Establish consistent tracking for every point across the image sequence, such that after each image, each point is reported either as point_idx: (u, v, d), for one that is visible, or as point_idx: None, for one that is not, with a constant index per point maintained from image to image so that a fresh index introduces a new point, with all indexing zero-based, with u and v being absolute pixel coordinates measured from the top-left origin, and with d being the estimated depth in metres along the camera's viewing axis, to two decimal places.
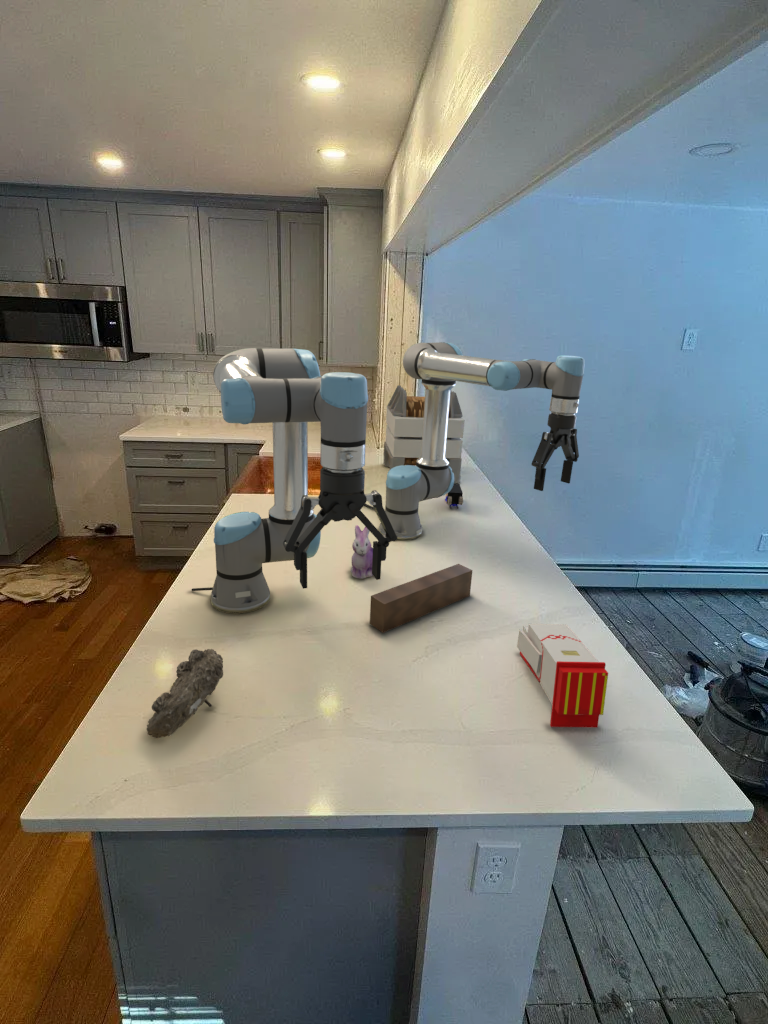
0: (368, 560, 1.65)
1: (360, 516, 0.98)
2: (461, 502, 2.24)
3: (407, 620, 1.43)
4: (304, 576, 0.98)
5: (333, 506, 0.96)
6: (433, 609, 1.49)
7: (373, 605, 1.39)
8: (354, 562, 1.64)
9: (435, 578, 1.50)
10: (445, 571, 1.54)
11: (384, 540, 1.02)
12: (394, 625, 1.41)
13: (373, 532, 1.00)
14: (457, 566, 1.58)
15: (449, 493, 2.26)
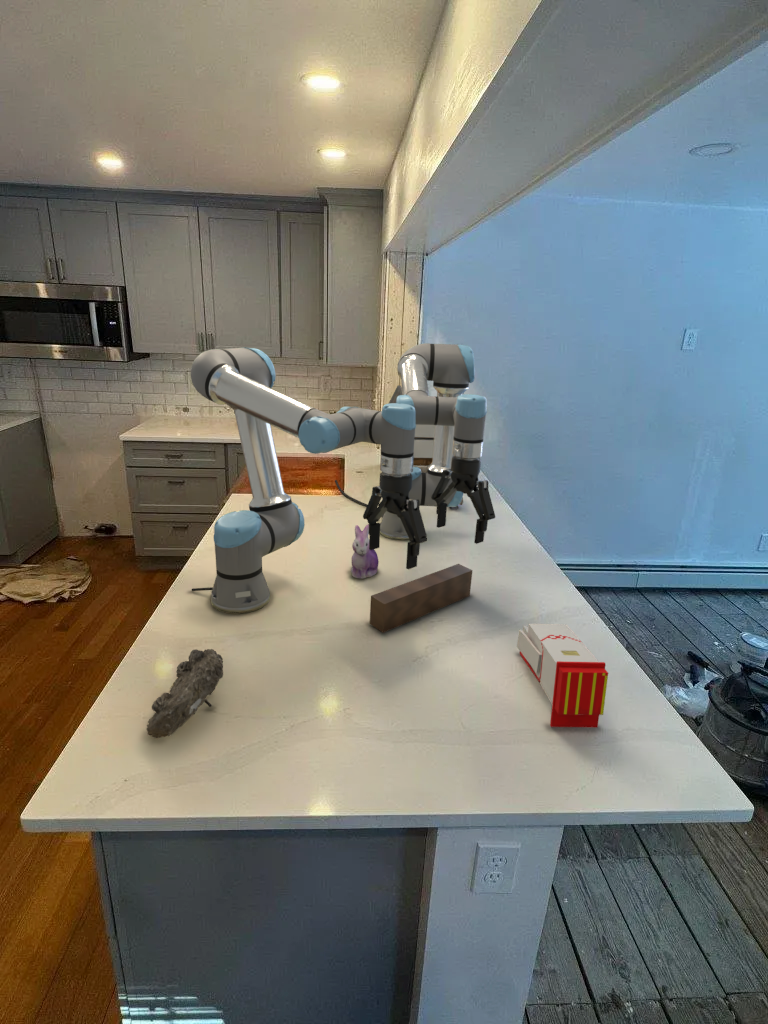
0: (368, 560, 1.65)
1: (397, 512, 1.29)
2: (461, 502, 2.24)
3: (407, 620, 1.43)
4: (370, 540, 1.40)
5: (384, 497, 1.32)
6: (433, 609, 1.49)
7: (373, 605, 1.39)
8: (354, 562, 1.64)
9: (435, 578, 1.50)
10: (445, 571, 1.54)
11: (412, 539, 1.28)
12: (394, 625, 1.41)
13: (406, 529, 1.29)
14: (457, 566, 1.58)
15: None
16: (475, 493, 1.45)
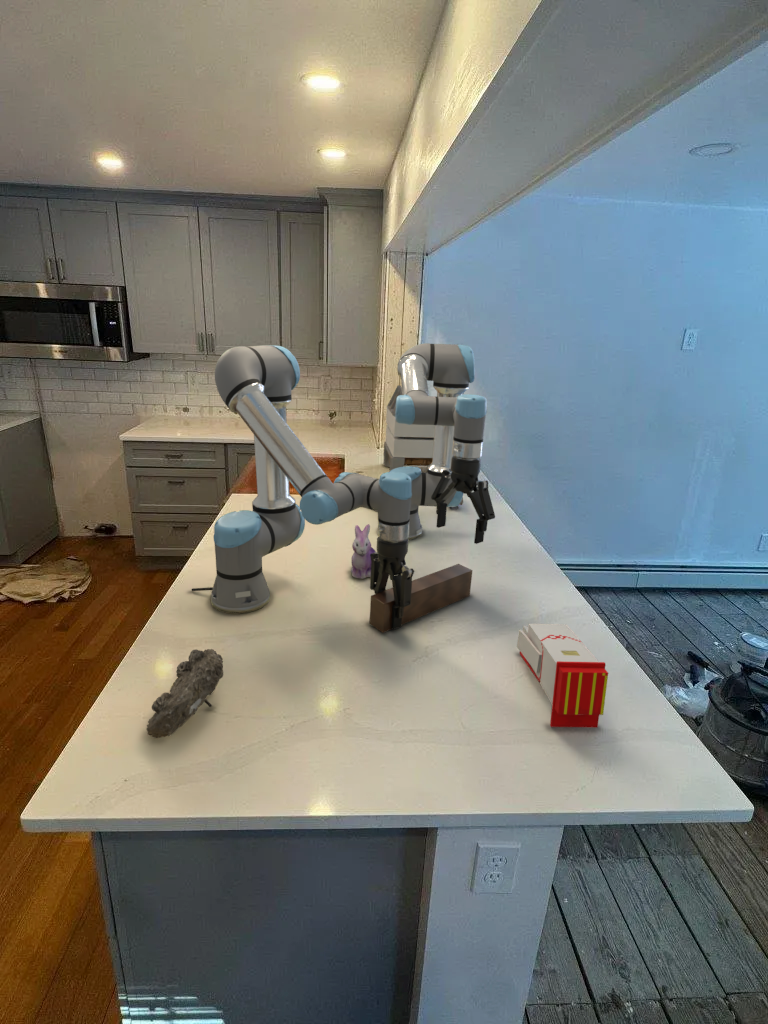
0: (368, 560, 1.65)
1: (390, 575, 1.36)
2: (461, 502, 2.24)
3: (407, 620, 1.43)
4: None
5: (381, 560, 1.37)
6: (433, 609, 1.49)
7: (373, 605, 1.39)
8: (354, 562, 1.64)
9: (435, 578, 1.50)
10: (445, 571, 1.54)
11: (397, 603, 1.37)
12: None
13: (394, 592, 1.37)
14: (457, 566, 1.58)
15: None
16: (475, 493, 1.45)
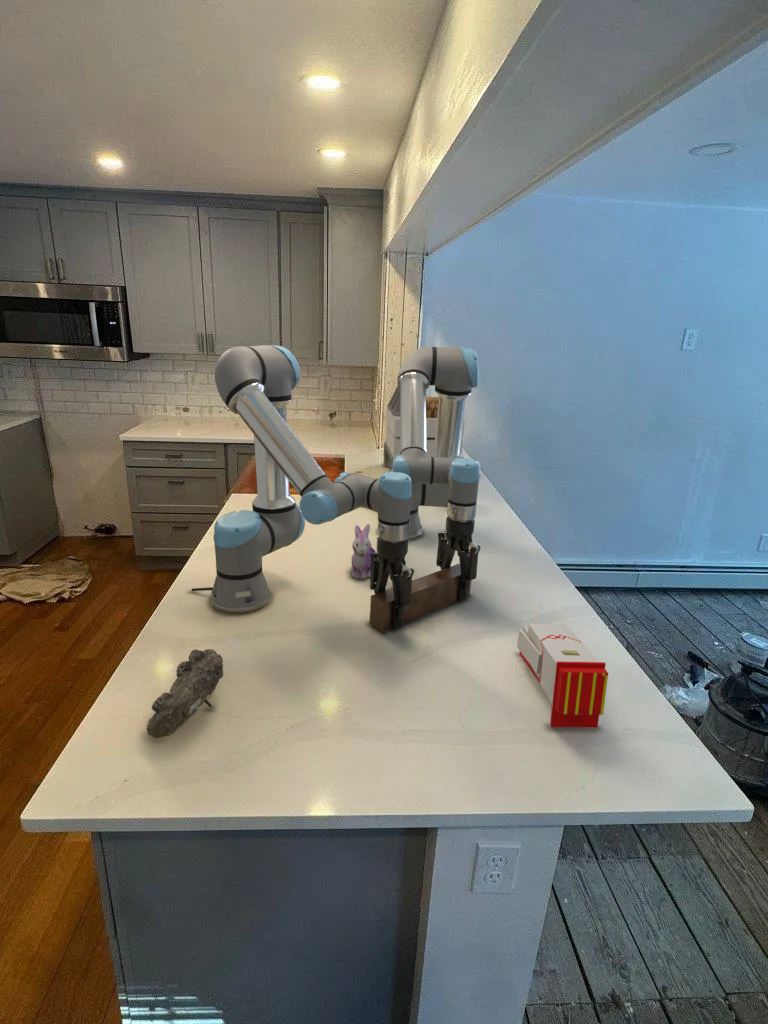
0: (368, 560, 1.65)
1: (390, 575, 1.36)
2: None
3: (407, 620, 1.43)
4: None
5: (381, 560, 1.37)
6: (433, 609, 1.49)
7: (373, 605, 1.39)
8: (354, 562, 1.64)
9: (435, 578, 1.50)
10: (445, 571, 1.54)
11: (397, 603, 1.37)
12: None
13: (394, 592, 1.37)
14: (457, 566, 1.58)
15: None
16: (465, 554, 1.51)
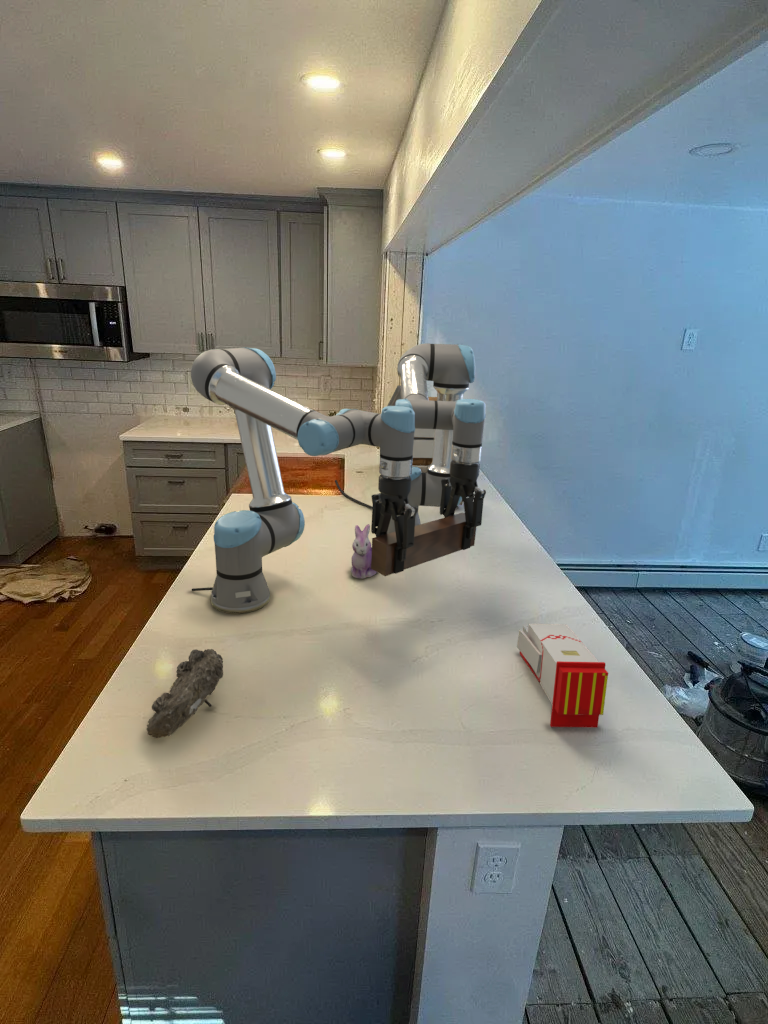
0: (368, 560, 1.65)
1: (393, 515, 1.30)
2: (461, 502, 2.24)
3: (409, 565, 1.38)
4: None
5: (383, 500, 1.32)
6: (437, 556, 1.44)
7: (374, 548, 1.34)
8: (354, 562, 1.64)
9: (439, 524, 1.45)
10: (449, 518, 1.49)
11: (399, 545, 1.31)
12: None
13: (396, 533, 1.31)
14: (461, 514, 1.52)
15: None
16: (470, 499, 1.46)
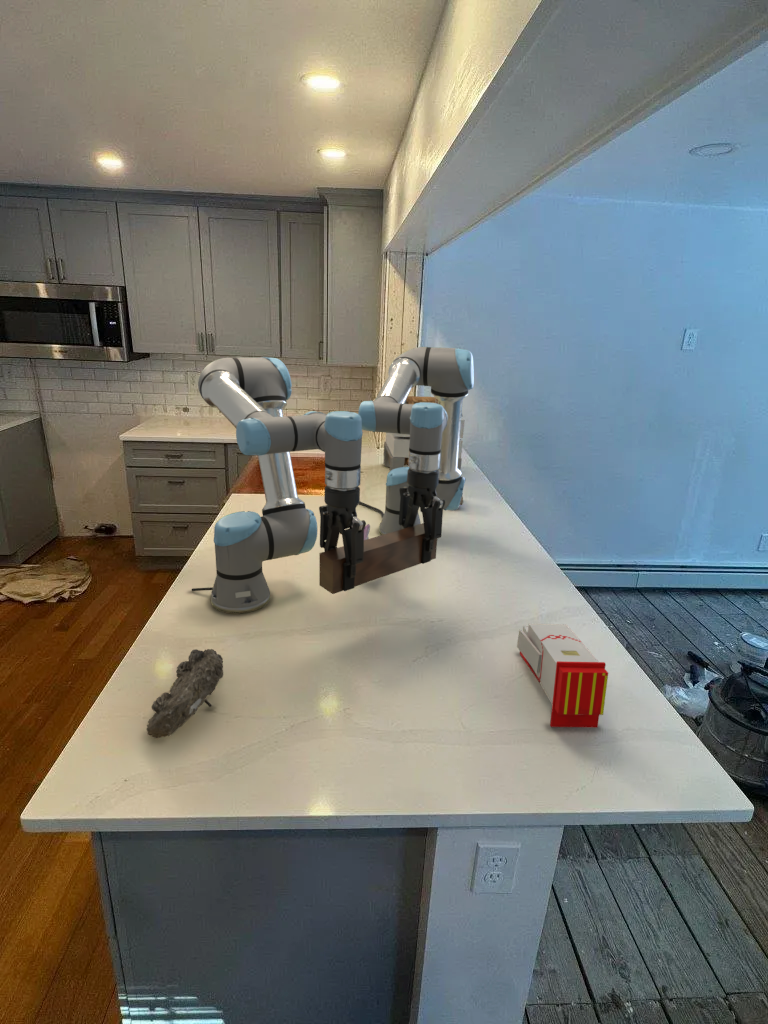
0: None
1: (340, 529, 1.21)
2: (461, 502, 2.24)
3: (361, 582, 1.29)
4: None
5: (330, 512, 1.23)
6: (392, 571, 1.35)
7: (322, 563, 1.25)
8: None
9: (395, 536, 1.35)
10: (408, 530, 1.39)
11: (348, 560, 1.22)
12: None
13: (344, 548, 1.22)
14: (421, 525, 1.43)
15: None
16: (429, 510, 1.36)
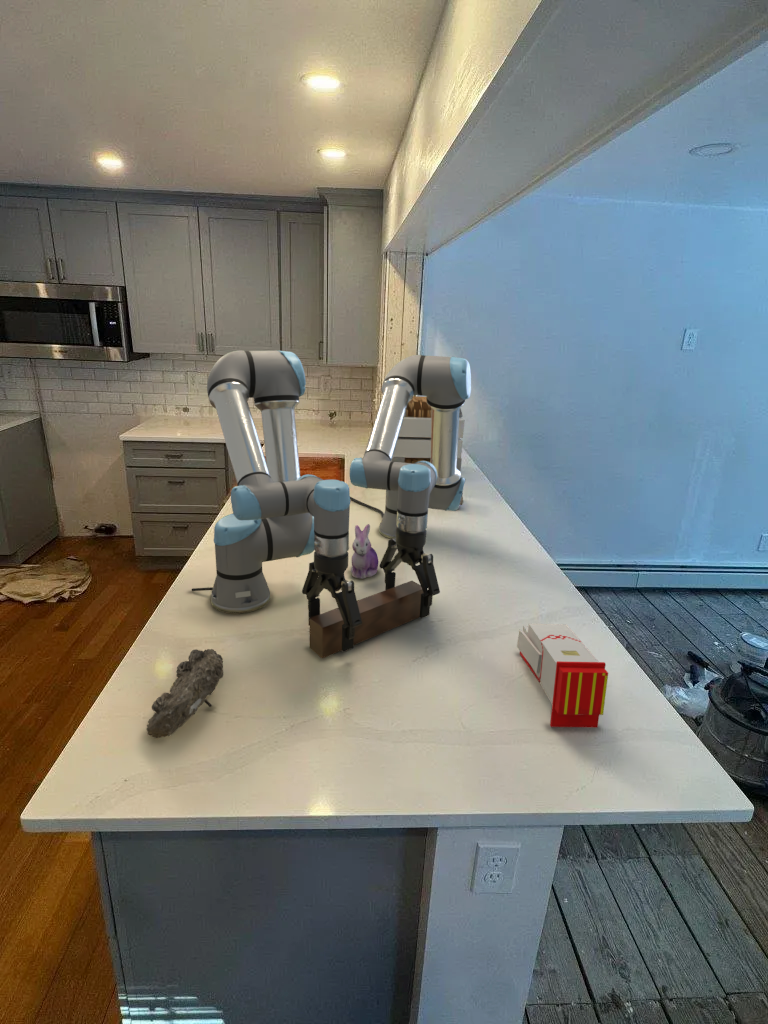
0: (368, 560, 1.65)
1: (332, 593, 1.23)
2: (461, 502, 2.24)
3: None
4: (309, 617, 1.34)
5: None
6: (381, 631, 1.38)
7: (312, 628, 1.28)
8: (354, 562, 1.64)
9: (384, 597, 1.39)
10: (396, 589, 1.43)
11: (346, 622, 1.22)
12: (335, 650, 1.29)
13: (340, 611, 1.23)
14: (410, 583, 1.46)
15: None
16: (420, 566, 1.39)
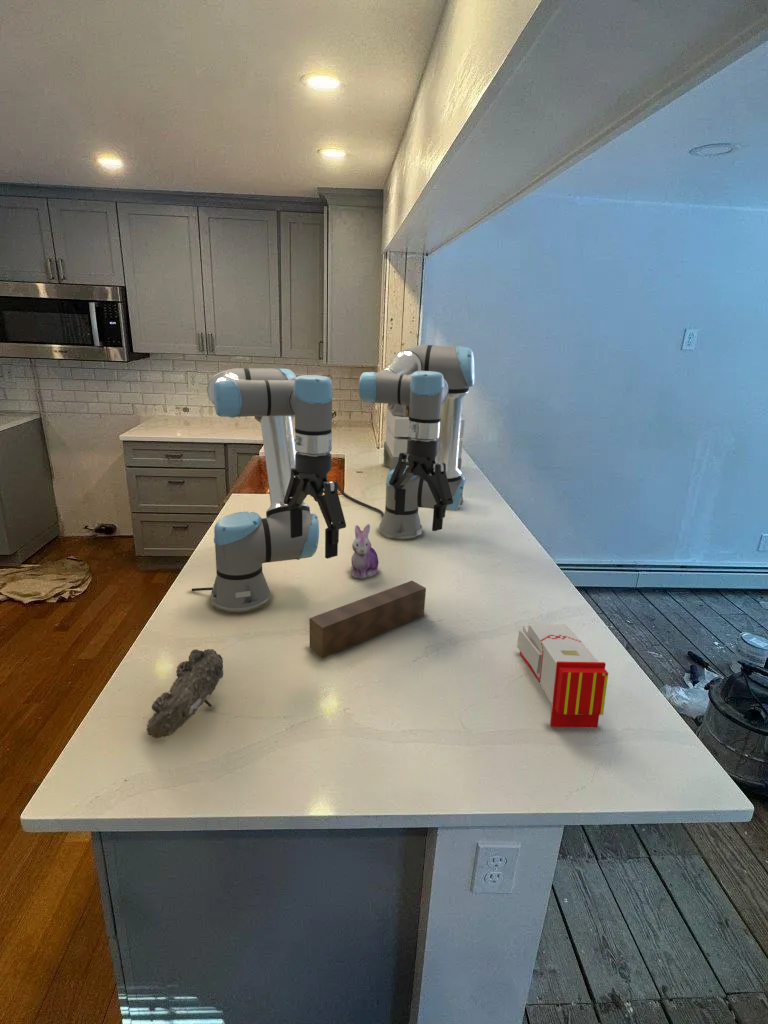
0: (368, 560, 1.65)
1: (314, 495, 1.17)
2: (461, 502, 2.24)
3: (350, 644, 1.32)
4: (291, 528, 1.28)
5: None
6: (381, 631, 1.38)
7: (312, 628, 1.28)
8: (354, 562, 1.64)
9: (384, 597, 1.39)
10: (396, 589, 1.43)
11: (329, 525, 1.16)
12: (335, 650, 1.29)
13: (323, 514, 1.17)
14: (410, 583, 1.46)
15: None
16: (432, 477, 1.35)
